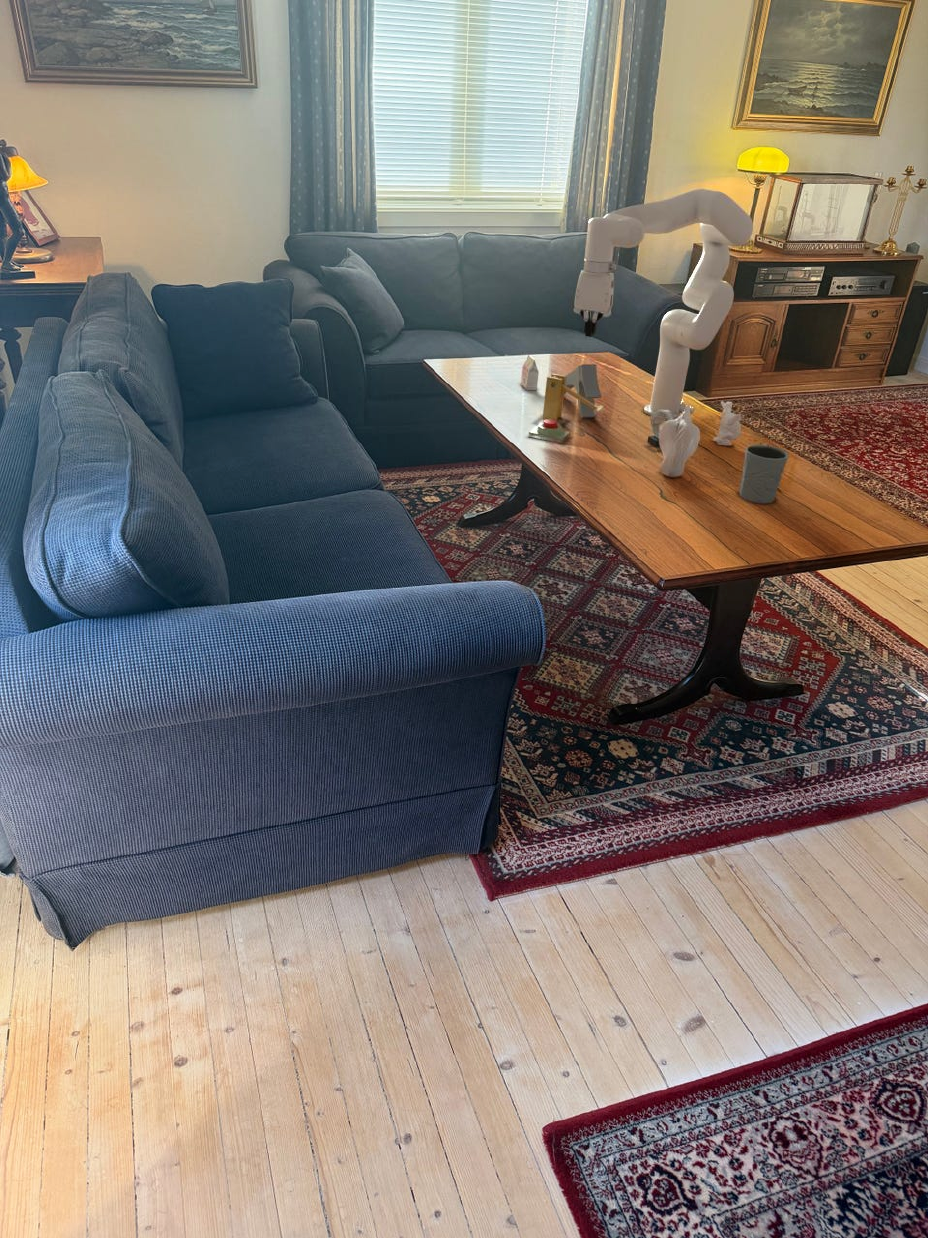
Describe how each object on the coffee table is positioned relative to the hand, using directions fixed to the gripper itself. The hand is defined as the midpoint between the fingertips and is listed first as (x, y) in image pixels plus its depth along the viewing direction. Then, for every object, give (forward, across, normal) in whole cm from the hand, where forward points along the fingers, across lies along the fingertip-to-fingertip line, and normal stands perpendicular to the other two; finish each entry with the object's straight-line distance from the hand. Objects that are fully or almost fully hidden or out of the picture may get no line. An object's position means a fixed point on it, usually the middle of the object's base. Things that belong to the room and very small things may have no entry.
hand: (589, 335), depth 239 cm
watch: (+27, -26, +8) cm, 38 cm away
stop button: (+23, +4, +17) cm, 28 cm away
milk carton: (+27, +27, -29) cm, 47 cm away
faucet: (+27, +7, -14) cm, 31 cm away
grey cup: (+27, -56, +30) cm, 69 cm away
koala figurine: (+27, -42, -7) cm, 51 cm away
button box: (+26, +4, +17) cm, 31 cm away
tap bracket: (+26, +8, +3) cm, 27 cm away
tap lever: (+18, +2, +3) cm, 18 cm away
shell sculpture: (+26, -34, +27) cm, 51 cm away
